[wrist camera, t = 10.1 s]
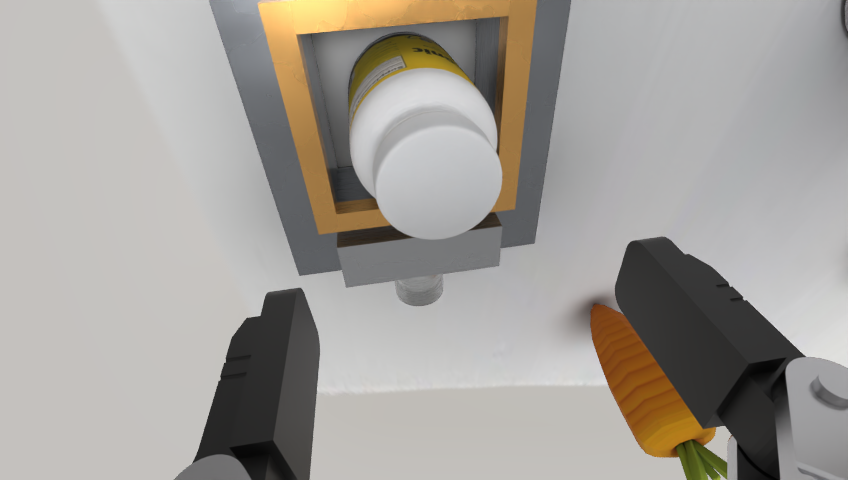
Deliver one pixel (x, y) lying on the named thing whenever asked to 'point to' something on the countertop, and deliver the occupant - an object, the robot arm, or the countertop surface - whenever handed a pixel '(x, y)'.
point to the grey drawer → (340, 187)
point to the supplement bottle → (422, 138)
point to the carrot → (650, 398)
